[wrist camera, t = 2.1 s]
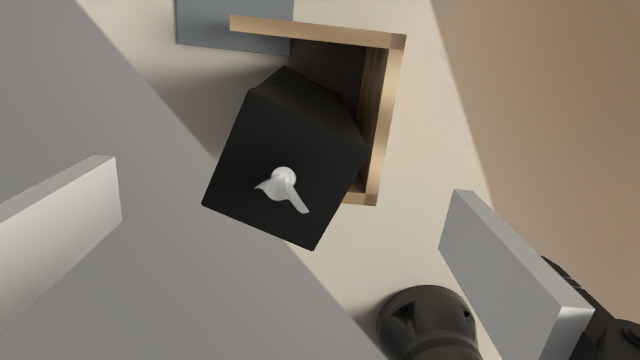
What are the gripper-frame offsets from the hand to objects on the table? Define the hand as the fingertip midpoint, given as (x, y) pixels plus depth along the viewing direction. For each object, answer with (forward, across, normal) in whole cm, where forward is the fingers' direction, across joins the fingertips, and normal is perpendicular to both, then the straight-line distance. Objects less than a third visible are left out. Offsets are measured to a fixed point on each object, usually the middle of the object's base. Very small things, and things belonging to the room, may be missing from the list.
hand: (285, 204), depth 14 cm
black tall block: (+32, +1, +2) cm, 32 cm away
